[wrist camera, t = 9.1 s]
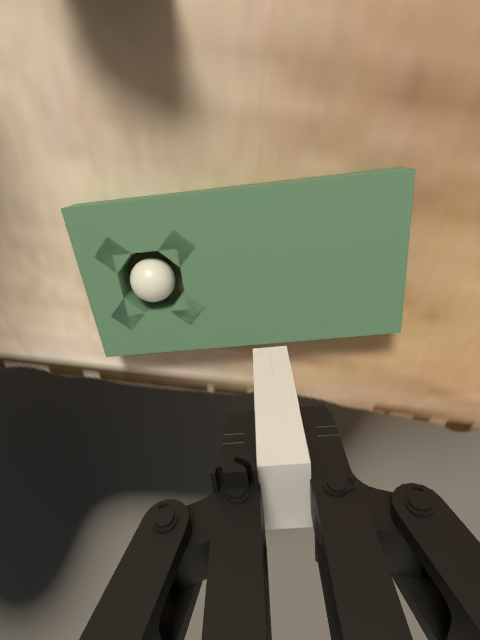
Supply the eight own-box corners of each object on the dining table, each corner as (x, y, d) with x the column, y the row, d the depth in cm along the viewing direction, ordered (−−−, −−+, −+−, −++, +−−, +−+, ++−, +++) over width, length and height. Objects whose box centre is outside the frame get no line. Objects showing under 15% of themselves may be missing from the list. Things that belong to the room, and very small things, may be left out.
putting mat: (116, 342, 38) (106, 356, 35) (77, 203, 32) (60, 208, 29) (389, 319, 36) (400, 332, 33) (400, 167, 30) (415, 168, 27)
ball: (148, 292, 36) (127, 308, 32) (139, 253, 34) (116, 265, 30) (185, 292, 34) (167, 309, 31) (178, 251, 33) (157, 264, 29)
